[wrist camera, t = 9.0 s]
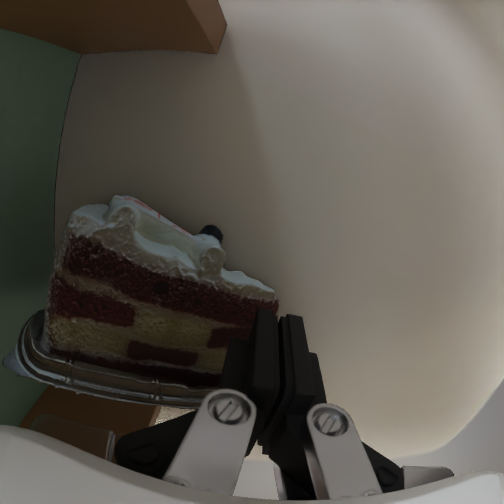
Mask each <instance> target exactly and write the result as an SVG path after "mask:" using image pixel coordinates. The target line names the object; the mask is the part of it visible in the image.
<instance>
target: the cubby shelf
mask: <svg viewBox="0 0 504 504" xmlns="http://www.w3.org/2000/svg"><path fill="white" fill-rule="evenodd" d="M226 26H227V23H226V20H225V18H224V15H223V12H222V10H221V7H220V4H219V2H218V0H0V425H8V426H16V427H20V428H25V429H30V426H31V424H32V422H33V421H34V419H35V418H37V417H38V416H40V415H44V414H51V415H56V416H59V417H62V418H65V419H69V420H72V421H75V422H79V423H83V424H86V425H90V426H94V427H98V428H103V429H107V430H112V432H113V434H118V435H123V436H124V435H126V434H128V433H131V432H134V431H138V430H141V429H144V428H147V427H150V426H154V425H155V422H156V419H157V417H158V414H159V412H160V409H161V406H157V405H151V406H148V405H145V404H136V403H130V402H127V403H122V402H121V403H120V402H117V401H114V400H106V399H99V398H94V397H89V396H85V395H80V394H76V391H68V390H67V389H64V388H60V387H58V388H55V386H53V385H51V384H47V383H44V382H39V380H38V381H37V380H32V379H29V378H25V377H21V376H16V372H15V371H12V370H9V369H7V368H5V367H4V366H3V364H2V361H3V358H4V357H7V355H8V353H10V352H11V351H12V350H13V349H14V347H15V346H16V344H17V341H18V335H19V332H20V329H21V327H22V325H23V324H25V322H26V321H27V320H28V319H29V318H30V317H31V316H32V315H34V314H35V313H36V312H37V311H38V310H42V309H44V308H45V305H46V300H47V294H48V286H49V281H50V277H51V275H52V271H53V265H54V255H55V253H54V198H55V182H56V171H57V161H58V153H59V146H60V139H61V133H62V127H63V122H64V117H65V112H66V107H67V103H68V99H69V95H70V91H71V87H72V83H73V79H74V76H75V72H76V69H77V66H78V63H79V60H80V57H81V55H83V54H92V53H101V52H113V51H132V50H169V51H189V52H201V53H211V54H217V53H218V50H219V47H220V44H221V41H222V38H223V35H224V32H225V29H226Z"/></svg>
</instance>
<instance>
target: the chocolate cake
mask: <svg viewBox="0 0 504 504" xmlns="http://www.w3.org/2000/svg"><path fill="white" fill-rule="evenodd" d="M222 240H223V234H222V232H221V231H220V230H219V229H218V228H217V227H216V226H213V225H207V226H205V227H204V228H203V229H202V230H201V231H200V233H198V234H196V235H195V236H193V235H191V234H190V233H189V232H187V231H185V230H184V229H182V228H180V227H179V226H177V225H176V224H174V223H172V222H171V221H169V220H168V219H166V218H165V217H163V216H162V215H160V214H159V213H158V212H156V211H155V210H154V209H152V208H151V207H149V206H147V205H146V204H144V203H143V202H142V201H140V200H139V199H136V198H133V197H131V196H128V195H124V196H118V195H114V196H113V197H112V199H111V202H110V204H109V206H107V205H105V204H97V203H96V204H93V205H84V206H82V207H80V208H79V209H77V210H75V211H73V212H72V214H71V215H70V217H69V219H68V221H67V223H66V227H65V229H64V231H63V234H62V237H61V241H60V244H59V248H58V250H57V252H56V254H55V255H54V265H53V271H52V275H51V277H50V281H49V286H48V294H47V300H46V305H45V308H44V309H42V310H38V311H37V312H36V313H35V314H34V315H32V316H31V317H30V318H29V319H28V320H27V321H26V322H25V324H23V325H22V327H21V329H20V332H19V335H18V341H17V344H16V346H15V347H14V349H13V350H12V351H11V352H10V353H8V355H7V357H4V358H3V361H2V364H3V366H4V367H5V368H7V369H9V370H12V371H15V372H16V376H21V377H25V378H29V379H32V380H37V381H38V380H39V382H44V383H47V384H51V385H53V386H55V388H58V387H60V388H64V389H67V390H68V391H76V394H80V395H85V396H89V397H94V398H99V399H106V400H114V401H117V402H120V403H121V402H122V403H127V402H130V403H136V404H145V405H148V406H151V405H157V406H168V407H174V408H181V409H195V410H198V409H199V407H200V405H201V403H202V401H203V399H204V398H205V397H206V395H207V394H208V393H210V392H212V391H214V390H218V388H219V383H220V378H221V374H222V369H223V365H224V360H225V356H226V352H227V348H228V344H229V339H230V337H234V338H238V339H243V340H247V341H248V339H249V336H250V332H251V329H252V325H253V322H254V318H255V315H256V311H257V308H258V307H259V308H263V309H268V310H272V311H273V315H276V313H277V310H278V307H279V305H278V302H279V301H278V299H277V297H276V296H275V290H274V289H272V288H269V287H267V286H265V285H263V284H262V283H261V282H260V281H259V280H257V279H254V278H249V277H247V276H246V275H245V274H244V273H243V272H242V271H232V272H230V271H227V270H226V269H224V268H223V265H224V264H225V261H226V253H225V251H224V250H222V248H221V243H222Z"/></svg>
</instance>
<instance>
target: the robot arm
mask: <svg viewBox="0 0 504 504" xmlns="http://www.w3.org/2000/svg"><path fill="white" fill-rule="evenodd" d="M257 439H258V441H257ZM256 441H257V444H258V445H259V446H263V447H262V454H266V455H269V458H270V459H271V460H272V461H273V462H274V473H275V479H276V485H277V491H278V497H279V500H270V499H257V498H248V497H239V496H233V492H234V489H235V486H236V483H237V480H238V476H239V473H240V470H241V467H242V464H243V460H244V457H246V456H248V455H249V454H250V452H251V450H252V448H253V446H254V445H255V443H256ZM0 504H504V475H503V474H501V473H498V472H490V471H476V472H469V473H464V474H460V475H456V476H454V474H453V472H452V471H451V470H450V469H448V468H446V467H417V466H403V467H401V468H399V467H398V466H397V465H396V464H395V463H393V462H392V461H390V460H389V459H387V458H386V457H384V456H383V455H381V454H380V453H378V452H377V451H375V450H374V449H372V448H371V447H369V446H368V445H366V444H365V443H363V442H362V441H361V439H360V437H359V434H358V432H357V430H356V427H355V425H354V423H353V420H352V418H351V417H350V415H349V414H348V413H347V412H346V411H345V410H344V409H342V408H341V407H339V406H337V405H333V404H328V403H327V401H326V395H325V390H324V385H323V380H322V375H321V371H320V366H319V361H318V357H317V354H316V353H311V352H309V350H308V345H307V339H306V334H305V329H304V323H303V318H302V317H301V316H297V315H292V314H287V315H286V317H282V316H281V317H280V319H279V322H278V317H277V315H273V311H272V310H268V309H263V308H259V307H258V308H257V311H256V315H255V318H254V322H253V325H252V329H251V332H250V336H249V339H248V341H247V340H243V339H238V338H234V337H230V339H229V344H228V348H227V352H226V356H225V360H224V365H223V369H222V374H221V378H220V383H219V388H218V390H214V391H212V392H210V393H208V394H207V395H206V397H205V398H204V399H203V401H202V403H201V405H200V407H199V409H198V410H195V411H193V412H190V413H187V414H185V415H182V416H179V417H177V418H174V419H171V420H168V421H165V422H163V423H160V424H157V425H154V426H150V427H147V428H144V429H141V430H138V431H134V432H131V433H128V434H126V435H124V436H123V435H118V434H113V432H112V430H107V429H103V428H98V427H94V426H90V425H86V424H83V423H79V422H75V421H72V420H69V419H65V418H62V417H59V416H56V415H51V414H44V415H40V416H38V417H37V418H35V419H34V421H33V422H32V424H31V426H30V429H25V428H20V427H16V426H8V425H0Z"/></svg>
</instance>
